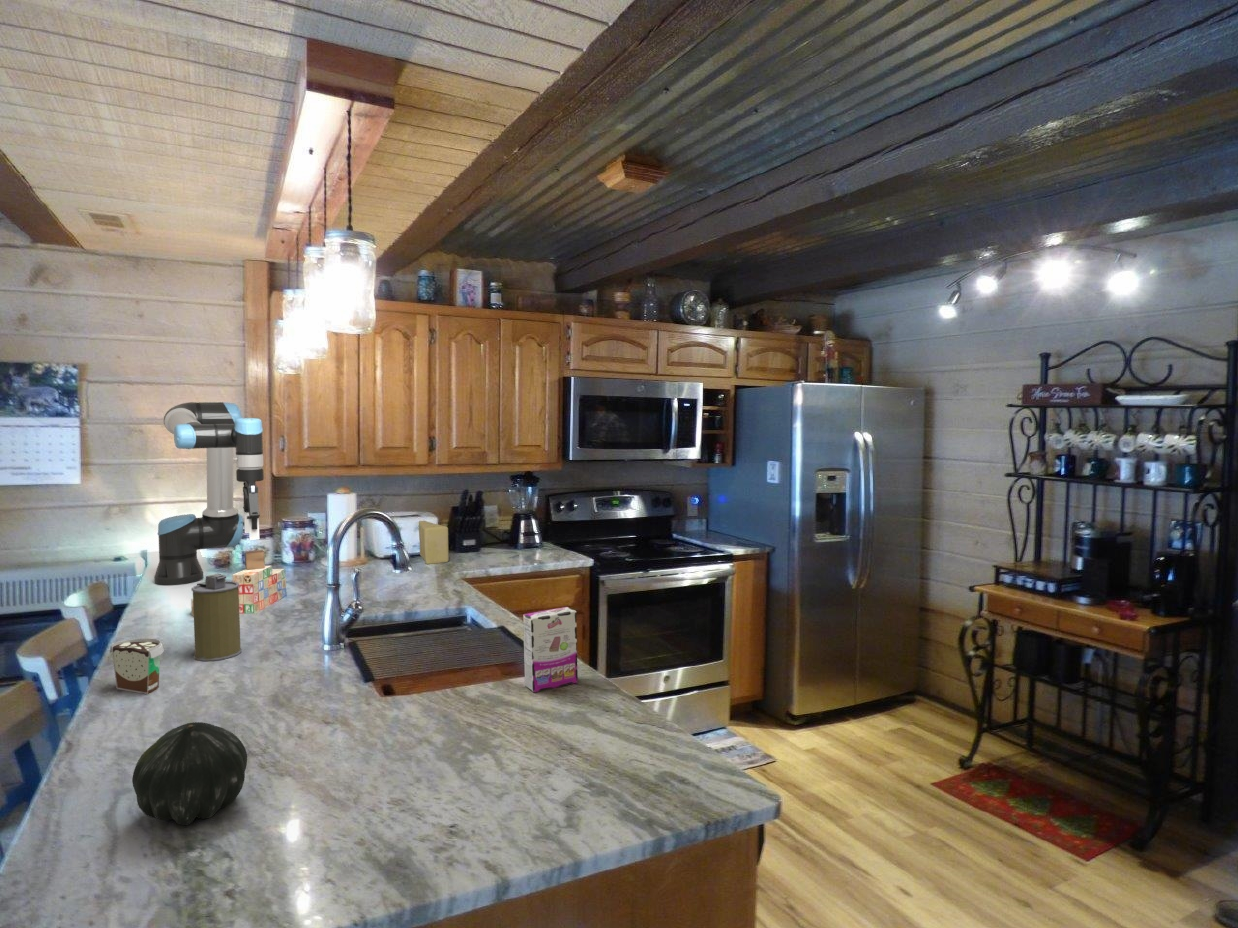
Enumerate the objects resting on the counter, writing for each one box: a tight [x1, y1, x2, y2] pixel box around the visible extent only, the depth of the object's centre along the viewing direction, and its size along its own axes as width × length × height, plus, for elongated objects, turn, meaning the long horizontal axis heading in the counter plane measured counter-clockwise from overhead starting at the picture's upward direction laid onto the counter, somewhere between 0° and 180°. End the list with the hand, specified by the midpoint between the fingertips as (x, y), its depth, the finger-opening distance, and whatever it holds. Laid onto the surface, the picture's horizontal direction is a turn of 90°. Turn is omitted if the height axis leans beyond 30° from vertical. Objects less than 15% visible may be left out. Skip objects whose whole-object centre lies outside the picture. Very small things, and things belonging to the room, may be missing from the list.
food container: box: [109, 637, 165, 695], centre depth 160 cm, size 12×6×10 cm, turn 71°
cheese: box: [418, 520, 449, 565], centre depth 302 cm, size 22×10×15 cm, turn 32°
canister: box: [190, 573, 243, 662], centre depth 181 cm, size 11×10×20 cm
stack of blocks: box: [232, 565, 287, 615], centre depth 230 cm, size 21×6×12 cm, turn 0°
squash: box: [131, 721, 248, 826], centre depth 110 cm, size 14×15×15 cm
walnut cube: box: [244, 549, 266, 570], centre depth 227 cm, size 5×5×5 cm
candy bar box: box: [522, 606, 579, 693], centre depth 161 cm, size 11×5×16 cm, turn 122°
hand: (251, 536), depth 227 cm, fingers open, 13 cm apart
